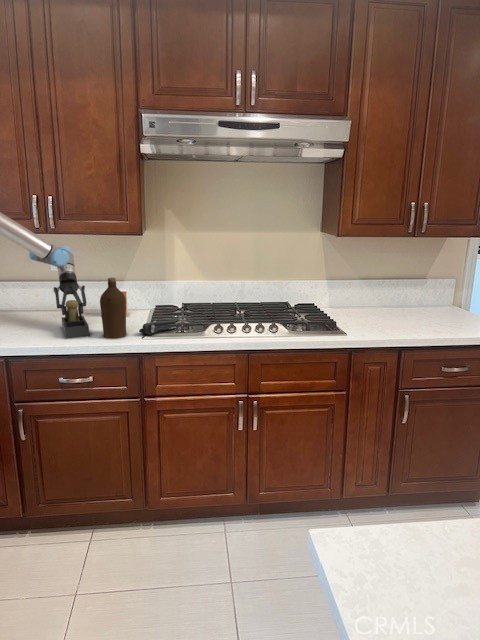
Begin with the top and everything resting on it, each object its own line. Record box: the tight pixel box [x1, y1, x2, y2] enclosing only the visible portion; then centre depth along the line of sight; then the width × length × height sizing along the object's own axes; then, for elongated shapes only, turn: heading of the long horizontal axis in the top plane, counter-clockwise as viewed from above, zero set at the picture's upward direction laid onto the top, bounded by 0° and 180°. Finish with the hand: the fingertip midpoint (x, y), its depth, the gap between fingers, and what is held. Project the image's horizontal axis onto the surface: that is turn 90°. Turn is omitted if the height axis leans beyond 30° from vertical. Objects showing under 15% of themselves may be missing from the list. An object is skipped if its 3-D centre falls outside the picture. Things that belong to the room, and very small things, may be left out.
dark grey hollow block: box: [61, 315, 90, 340], centre depth 203 cm, size 9×18×5 cm, turn 25°
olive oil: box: [99, 277, 127, 340], centre depth 196 cm, size 11×11×25 cm
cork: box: [65, 299, 79, 322], centre depth 206 cm, size 6×6×11 cm
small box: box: [118, 288, 128, 318], centre depth 230 cm, size 8×6×13 cm
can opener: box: [138, 320, 177, 336], centre depth 204 cm, size 18×7×6 cm, turn 131°
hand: (74, 319), depth 203 cm, fingers closed on cork, 5 cm apart
